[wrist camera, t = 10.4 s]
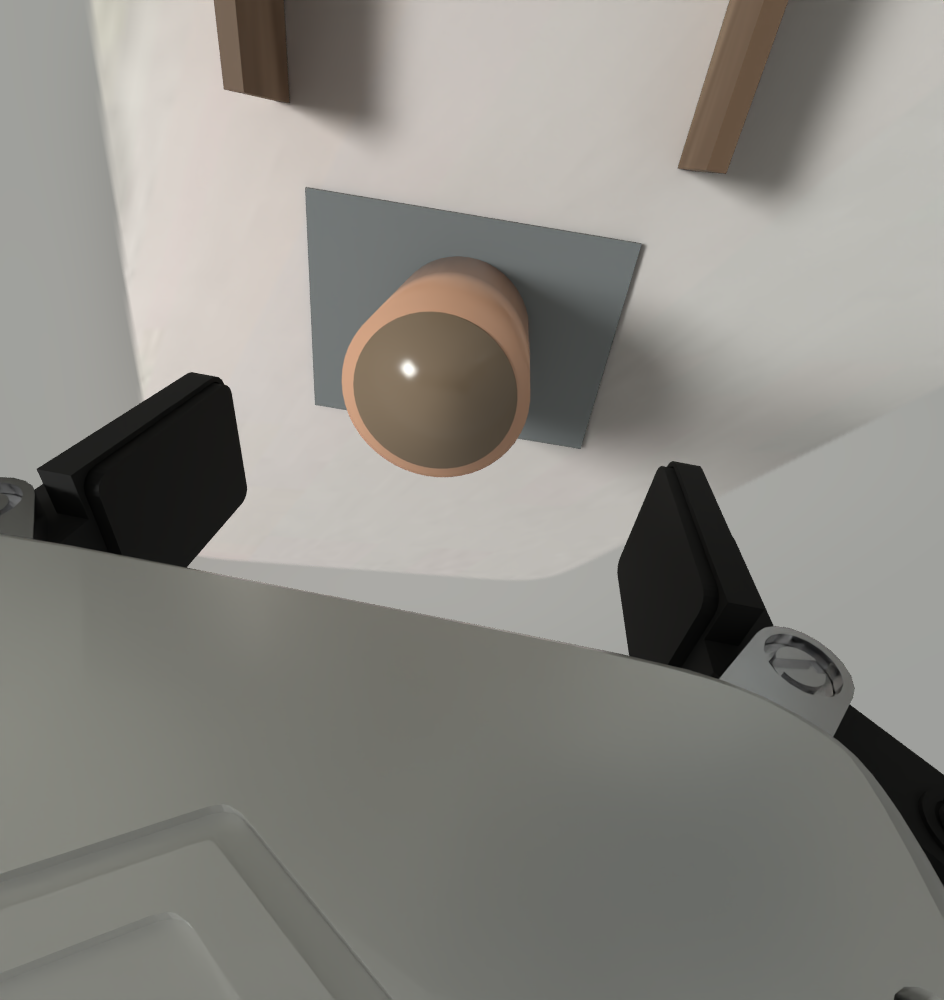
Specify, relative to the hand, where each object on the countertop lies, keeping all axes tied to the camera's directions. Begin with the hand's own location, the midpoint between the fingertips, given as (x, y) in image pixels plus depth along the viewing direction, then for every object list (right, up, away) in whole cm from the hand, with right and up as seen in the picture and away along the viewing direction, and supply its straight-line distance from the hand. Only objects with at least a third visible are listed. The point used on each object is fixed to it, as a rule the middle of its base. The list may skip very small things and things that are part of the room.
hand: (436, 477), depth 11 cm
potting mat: (0, +7, +11) cm, 13 cm away
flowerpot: (0, +7, +11) cm, 13 cm away
